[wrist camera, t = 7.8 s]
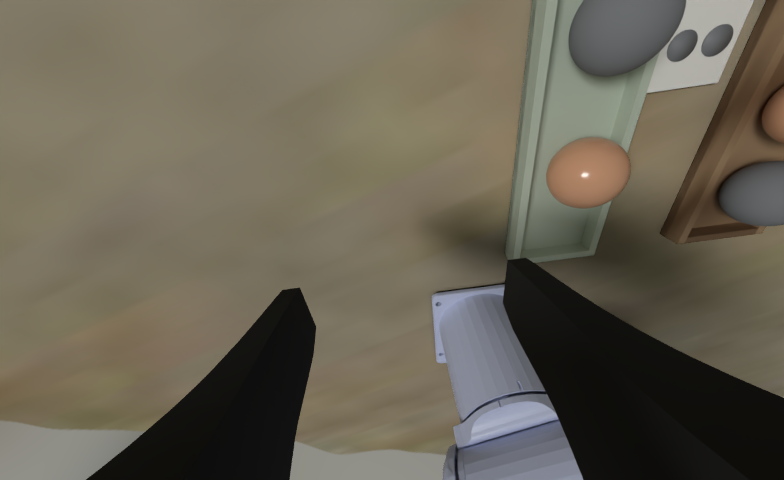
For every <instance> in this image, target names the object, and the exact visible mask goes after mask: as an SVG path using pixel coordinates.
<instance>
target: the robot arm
mask: <svg viewBox="0 0 784 480" xmlns="http://www.w3.org/2000/svg"><path fill="white" fill-rule="evenodd" d="M437 302H440V303H437ZM432 309H433V323H434V336H435V350H436V360H437V362H438V363H447V367H448V371H449V375H450V380H451V384H452V388H453V393H454V397H455V401H456V406H457V410H458V414H459V419H460V423H461V424H459V425H456V426H454V427H453V429H454V434H455V439H456V444H454V445H452V446H450V447H449V449H448V451H447V455H446V460H445V463H444V467H443V480H784V398H783V397H780V396H778V395H775V394H773V393H770V392H768V391H766V390H763V389H761V388H759V387H756V386H754V385H752V384H749V383H747V382H745V381H742V380H740V379H738V378H736V377H733V376H731V375H729V374H727V373H725V372H722V371H720V370H718V369H716V368H714V367H712V366H709V365H707V364H705V363H703V362H701V361H699V360H697V359H694V358H692V357H690V356H688V355H686V354H684V353H682V352H680V351H678V350H676V349H674V348H672V347H670V346H668V345H666V344H664V343H662V342H661V341H659V340H657V339H655V338H653V337H651V336H649V335H647V334H645V333H643V332H642V331H640V330H638V329H636V328H634V327H633V326H631V325H629V324H627V323H625V322H624V321H622V320H620V319H619V318H617V317H615V316H614V315H612V314H610V313H609V312H607V311H605V310H604V309H602V308H600V307H599V306H597V305H596V304H594V303H592V302H591V301H589V300H588V299H586V298H585V297H583V296H582V295H580V294H579V293H577V292H575V291H574V290H572V289H571V288H569V287H568V286H567V285H565V284H564V283H562V282H561V281H559V280H558V279H556V278H555V277H553V276H552V275H551V274H549V273H548V272H546V271H545V270H543V269H542V268H540V267H539V266H538V265H536V264H535V263H533V262H532V261H530V260H529V259H527V258H519V259H512V260H508V262H507V271H506V279H505V284H503V285H495V286H487V287H480V288H472V289H464V290H456V291H449V292H441V293H435V294H434V295H433V296H432ZM315 333H316V326H315V323H314V321H313V318H312V316H311V314H310V311H309V309H308V306H307V304H306V302H305V299H304V297H303V294H302V292H301V290H300V288H294V289H287V290H282V291H281V292H280V294H279V295H278V296H277V297H276V298H275V299H274V300H273V302H272V303H271V304H270V305H269V306H268V308H267V309H266V310H265V311H264V312H263V314H262V315H261V316H260V317H259V318H258V320H257V321H256V322H255V323H254V324H253V325H252V327H251V328H250V329H249V330H248V331H247V332H246V334H245V335H244V336H243V337H242V338H241V339H240V341H239V342H238V343H237V344H236V345H235V346H234V347H233V348H232V349H231V350H230V351H229V352H228V354H227V355H226V356H225V357H224V358H223V359H222V360H221V361H220V362H219V363H218V364H217V365H216V366H215V368H214V369H213V370H212V371H211V372H210V373H209V374H208V375H207V376H206V377H205V378H204V379H203V380H202V381H201V382H200V383H199V384H198V385H197V386H196V387H195V388H194V389H193V390H191V391H190V392H189V393H188V394H187V395H186V396H185V397H184V398H183V399H182V400H181V401H180V402H179V403H178V404H177V405H175V406H174V407H173V408H172V409H171V410H170V411H169V412H168V413H167V414H165V415H164V416H163V417H162V418H161V419H160V420H158V421H157V422H156V423H155V424H154V425H153V426H151V427H150V428H149V429H148V430H147V431H146V432H144V433H143V434H142V435H141V436H140V437H139V438H137V439H136V440H135V441H134V442H133V443H132V444H130V446H128V447H127V448H126V449H124V450H123V451H122V452H121V453H119V454H118V455H117V456H116V457H114V458H113V459H112V460H111V461H109V462H108V463H107V464H106V465H104V466H103V467H102V468H101V469H99V470H98V471H97V472H95V473H94V474H93V475H92V476H90V477H89V478H88V479H86V480H289V479H290V471H291V463H292V456H293V449H294V441H295V435H296V430H297V425H298V420H299V416H300V411H301V407H302V403H303V398H304V394H305V390H306V385H307V381H308V377H309V372H310V368H311V363H312V358H313V353H314V344H315Z"/></svg>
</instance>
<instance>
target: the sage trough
mask: <svg viewBox="0 0 784 480" xmlns="http://www.w3.org/2000/svg"><path fill="white" fill-rule="evenodd" d="M753 1H754V0H686V7H685V11H684V15H683V18H682V20H681V23H680V25H679V27H678V29H677V30H676V32H675V34H674V35H673V37H672V38H671V39H670V41H669V42H668V43H667V44H666V46H665V47H664V48H663V49H662V50H661V51H660V52H659V53H658V54H656V55H655V56H654V57H653V58H652V59H650V60H649V61H648V62H646V63H645V64H643V65H641V66H640V67H638V68H636V69H634V70H632V71H629V72H627V73H624V74H620V75H616V76H609V77H601V76H595V75H591V74H588V73H586V72H584V71H583V70H581V69H580V68H579V67H578V66H577V65H576V64H575V62H574V61H573V59H572V57H571V54H570V50H569V31H570V27H571V23H572V20H573V18H574V16H575V14H576V12H577V10H578V8H579V6H580V5H581V3H582V2H583V0H532V7H531V16H530V25H529V35H528V44H527V53H526V62H525V71H524V81H523V90H522V99H521V108H520V117H519V127H518V136H517V145H516V154H515V163H514V173H513V182H512V191H511V200H510V209H509V219H508V228H507V237H506V246H505V255H506V257H507V258H508V260H512V259H519V258H527V259H529V260H530V261H532V262H533V263H538V262H546V261H554V260H561V259H569V258H577V257H584V256H592V255H594V254H595V251H596V248H597V244H598V241H599V238H600V235H601V232H602V229H603V226H604V223H605V220H606V217H607V213H608V210H609V207H610V204H611V201H612V200H611V201H609V202H607V203H605V204H603V205H601V206H598V207H593V208H587V209H579V208H573V207H569V206H566V205H564V204H562V203H560V202H559V201H558V200H556V199H555V198H554V197H553V196H552V194H551V193H550V191H549V189H548V186H547V183H546V172H547V168H548V165H549V163H550V161H551V159H552V158H553V156H554V155H555V154H556V153H557V152H558V151H559V150H560V149H561V148H562V147H564V146H565V145H567V144H568V143H570V142H572V141H575V140H577V139H580V138H585V137H602V138H607V139H610V140H612V141H614V142H616V143H617V144H619V145H620V146H621V147H622V148H623V149H624V150H625V151H626V153H627V152H628V149H629V145H630V142H631V139H632V136H633V133H634V130H635V127H636V124H637V121H638V118H639V114H640V111H641V108H642V105H643V102H644V99H645V96H646V93H651V92H658V91H665V90H671V89H678V88H685V87H692V86H699V85H705V84H712V83H718V81H719V79H720V77H721V74H722V72H723V70H724V67H725V65H726V63H727V61H728V58H729V56H730V54H731V51H732V49H733V47H734V45H735V42H736V40H737V38H738V35H739V33H740V31H741V29H742V26H743V24H744V22H745V19H746V17H747V15H748V13H749V10H750V8H751V6H752V4H753Z"/></svg>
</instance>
